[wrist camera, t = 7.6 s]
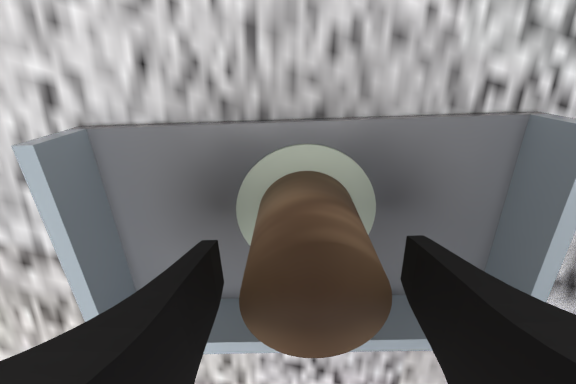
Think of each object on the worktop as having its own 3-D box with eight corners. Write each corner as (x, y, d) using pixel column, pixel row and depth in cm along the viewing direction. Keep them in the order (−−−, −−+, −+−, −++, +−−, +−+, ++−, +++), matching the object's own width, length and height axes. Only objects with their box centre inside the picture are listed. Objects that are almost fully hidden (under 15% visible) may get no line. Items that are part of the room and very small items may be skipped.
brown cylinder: (357, 169, 14) (401, 239, 8) (350, 254, 16) (383, 357, 10) (255, 171, 14) (231, 242, 8) (261, 255, 16) (245, 358, 10)
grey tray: (538, 111, 13) (618, 126, 10) (482, 296, 18) (526, 349, 14) (77, 126, 14) (11, 146, 11) (133, 303, 18) (99, 355, 15)
